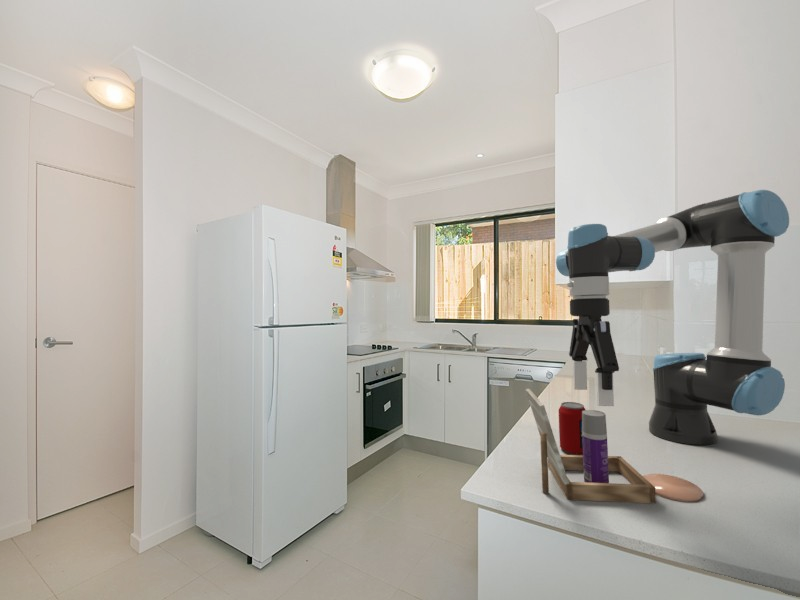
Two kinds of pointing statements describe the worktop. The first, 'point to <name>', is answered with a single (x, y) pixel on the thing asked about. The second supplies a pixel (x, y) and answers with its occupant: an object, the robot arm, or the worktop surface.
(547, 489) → the wooden frame
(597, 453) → the container
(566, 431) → the beverage can
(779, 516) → the worktop surface
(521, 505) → the worktop surface
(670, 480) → the saucer
